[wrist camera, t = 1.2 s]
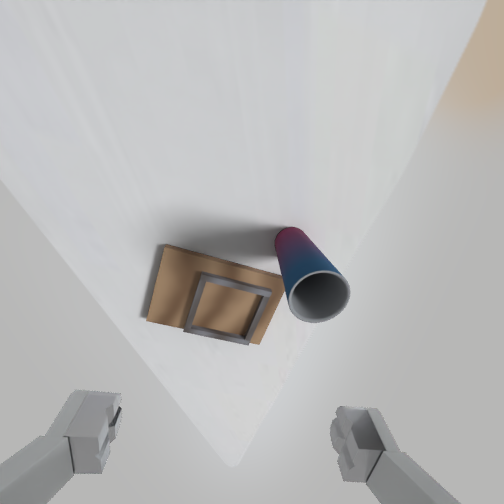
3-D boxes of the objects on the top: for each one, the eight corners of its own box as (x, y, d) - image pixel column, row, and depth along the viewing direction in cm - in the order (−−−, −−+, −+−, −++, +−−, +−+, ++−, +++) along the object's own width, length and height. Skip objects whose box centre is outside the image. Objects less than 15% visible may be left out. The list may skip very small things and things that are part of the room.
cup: (304, 214, 42) (341, 260, 29) (317, 251, 45) (356, 309, 31) (262, 232, 43) (279, 285, 29) (278, 267, 46) (300, 331, 32)
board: (148, 316, 48) (144, 324, 46) (166, 244, 42) (163, 250, 40) (258, 340, 52) (259, 348, 50) (287, 277, 47) (290, 284, 45)
